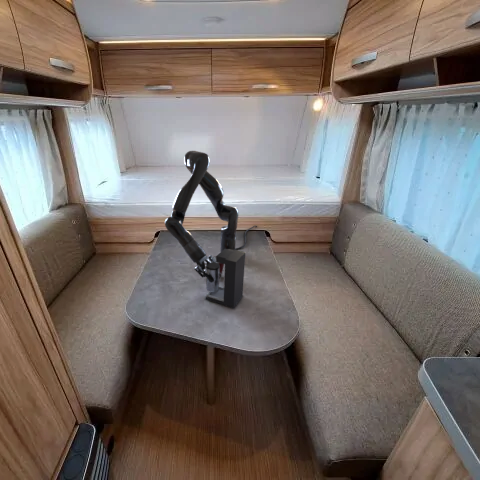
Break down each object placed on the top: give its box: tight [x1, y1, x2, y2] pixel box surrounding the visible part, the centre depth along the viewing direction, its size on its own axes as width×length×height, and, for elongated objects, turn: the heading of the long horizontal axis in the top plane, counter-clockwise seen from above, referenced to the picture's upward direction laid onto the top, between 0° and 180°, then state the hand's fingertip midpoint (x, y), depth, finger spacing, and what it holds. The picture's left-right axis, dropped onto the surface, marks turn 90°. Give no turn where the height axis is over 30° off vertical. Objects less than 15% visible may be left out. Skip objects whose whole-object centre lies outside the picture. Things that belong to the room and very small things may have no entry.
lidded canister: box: [206, 262, 220, 292], centre depth 128 cm, size 6×6×13 cm
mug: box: [213, 256, 225, 278], centre depth 146 cm, size 11×8×10 cm
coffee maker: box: [205, 249, 246, 309], centre depth 124 cm, size 15×11×24 cm
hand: (216, 278), depth 127 cm, fingers closed on lidded canister, 6 cm apart
